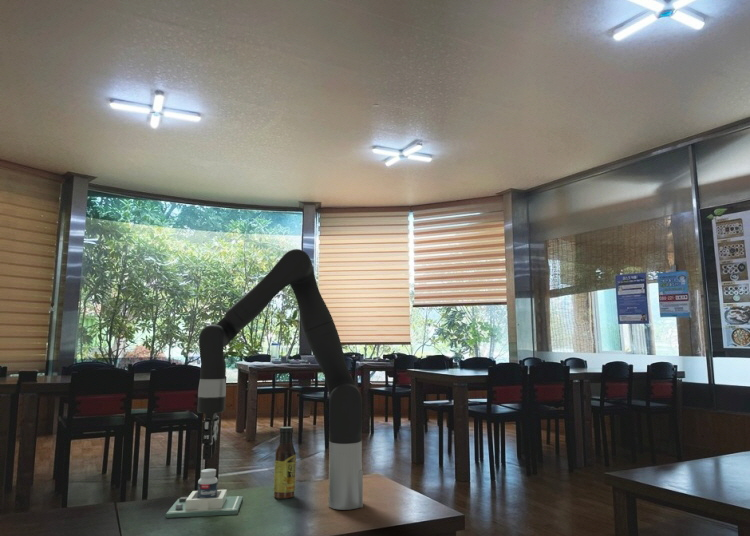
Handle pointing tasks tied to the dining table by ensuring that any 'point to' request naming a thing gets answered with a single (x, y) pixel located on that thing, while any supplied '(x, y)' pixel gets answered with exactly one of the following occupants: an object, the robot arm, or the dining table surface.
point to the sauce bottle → (285, 465)
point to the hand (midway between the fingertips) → (208, 456)
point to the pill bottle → (207, 484)
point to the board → (205, 505)
